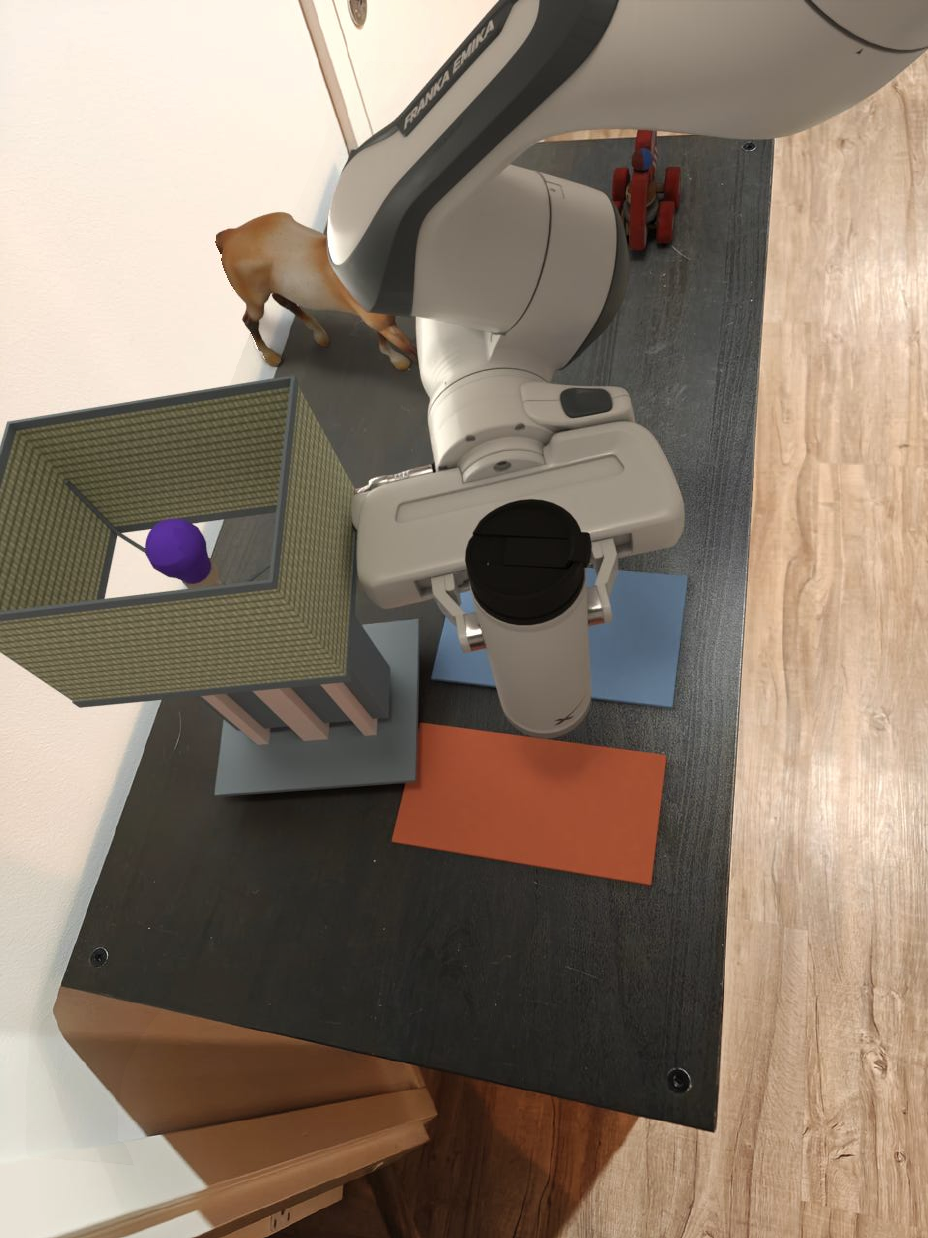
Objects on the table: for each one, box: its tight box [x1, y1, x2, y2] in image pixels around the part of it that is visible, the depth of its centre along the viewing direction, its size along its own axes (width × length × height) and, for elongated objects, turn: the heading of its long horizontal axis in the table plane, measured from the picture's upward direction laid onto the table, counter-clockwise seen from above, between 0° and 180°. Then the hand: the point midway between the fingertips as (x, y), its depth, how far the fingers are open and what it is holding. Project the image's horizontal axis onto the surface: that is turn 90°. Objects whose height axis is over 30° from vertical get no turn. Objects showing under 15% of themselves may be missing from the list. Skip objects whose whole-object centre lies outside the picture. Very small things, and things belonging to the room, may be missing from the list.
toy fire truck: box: [611, 130, 682, 251], centre depth 96 cm, size 7×12×10 cm, turn 168°
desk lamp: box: [0, 374, 421, 798], centre depth 66 cm, size 18×14×33 cm
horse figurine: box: [215, 211, 419, 371], centre depth 90 cm, size 31×8×21 cm, turn 64°
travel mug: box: [465, 499, 592, 739], centre depth 56 cm, size 6×7×20 cm
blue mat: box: [430, 567, 689, 709], centre depth 80 cm, size 20×12×1 cm, turn 78°
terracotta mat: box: [391, 722, 668, 887], centre depth 73 cm, size 20×10×1 cm, turn 78°
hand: (537, 633), depth 55 cm, fingers closed on travel mug, 6 cm apart
